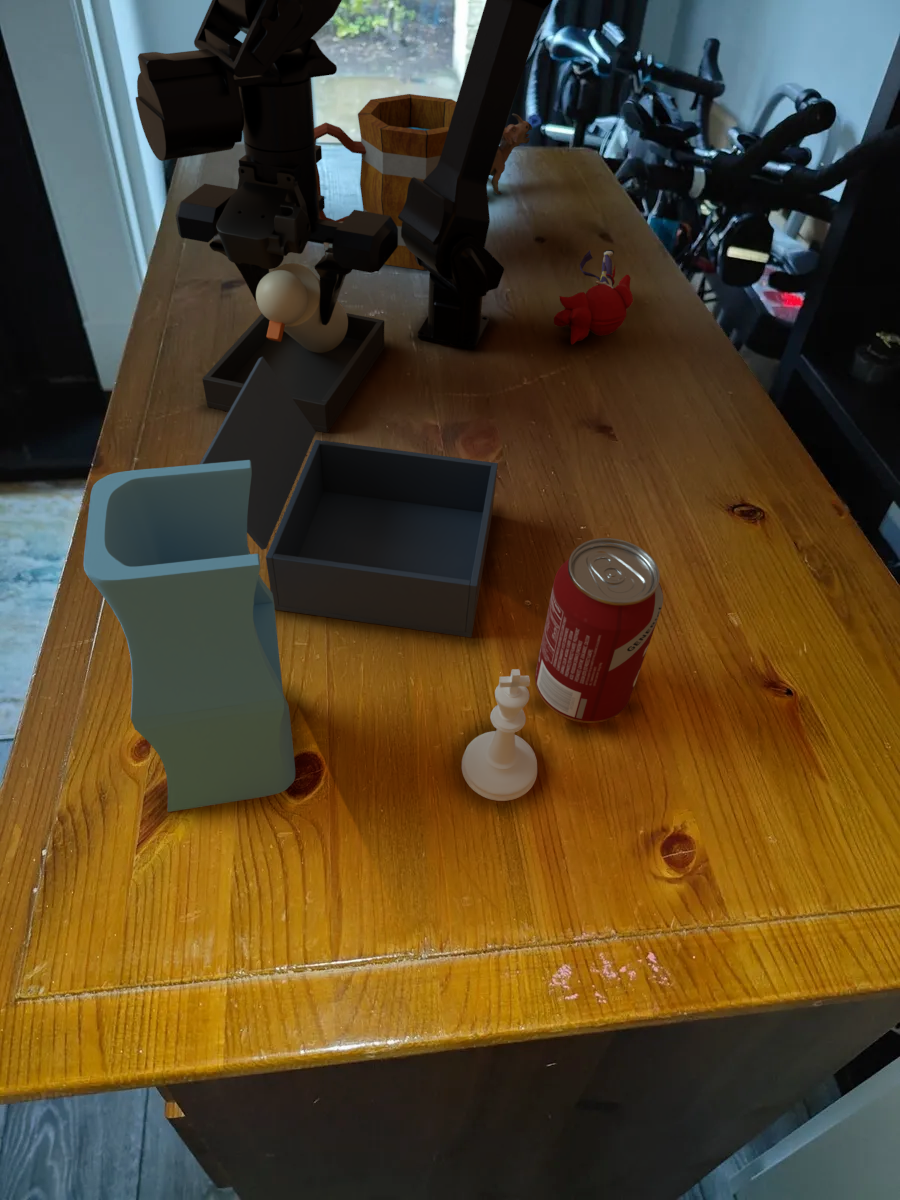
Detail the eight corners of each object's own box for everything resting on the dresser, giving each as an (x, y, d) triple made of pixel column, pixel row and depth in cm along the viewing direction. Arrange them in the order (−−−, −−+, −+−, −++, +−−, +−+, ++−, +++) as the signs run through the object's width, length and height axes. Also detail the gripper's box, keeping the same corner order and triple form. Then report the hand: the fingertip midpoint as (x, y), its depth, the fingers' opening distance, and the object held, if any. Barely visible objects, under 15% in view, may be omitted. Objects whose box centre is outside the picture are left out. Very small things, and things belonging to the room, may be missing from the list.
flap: (199, 469, 54) (194, 471, 54) (266, 548, 59) (261, 550, 59) (262, 356, 64) (258, 358, 64) (316, 432, 68) (312, 433, 68)
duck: (300, 291, 87) (251, 240, 74) (353, 301, 86) (312, 252, 73) (284, 363, 87) (232, 325, 74) (337, 374, 86) (293, 337, 74)
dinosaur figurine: (494, 172, 123) (500, 102, 117) (526, 184, 121) (534, 113, 114) (432, 198, 116) (434, 124, 109) (464, 211, 114) (469, 137, 107)
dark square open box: (471, 637, 62) (477, 586, 58) (273, 609, 63) (265, 557, 59) (492, 514, 72) (498, 462, 68) (319, 491, 73) (315, 439, 69)
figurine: (637, 288, 99) (632, 355, 89) (565, 293, 101) (553, 359, 91) (636, 234, 95) (631, 298, 85) (561, 240, 97) (548, 304, 87)
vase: (297, 791, 53) (261, 565, 38) (167, 812, 51) (78, 585, 37) (287, 691, 58) (252, 458, 43) (168, 708, 57) (91, 472, 42)
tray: (277, 325, 91) (274, 298, 89) (384, 347, 89) (384, 320, 87) (207, 406, 80) (201, 378, 78) (327, 433, 78) (325, 405, 76)
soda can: (567, 743, 56) (599, 624, 48) (515, 670, 60) (537, 549, 51) (648, 707, 59) (693, 588, 50) (593, 640, 63) (626, 519, 54)
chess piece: (458, 737, 56) (468, 640, 49) (531, 734, 57) (551, 637, 49) (465, 803, 53) (477, 709, 46) (542, 799, 53) (566, 706, 46)
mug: (458, 220, 111) (465, 93, 100) (478, 268, 102) (489, 134, 92) (308, 224, 108) (298, 94, 97) (316, 274, 99) (306, 136, 88)
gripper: (123, 155, 65) (163, 340, 76) (352, 194, 62) (358, 380, 73) (193, 111, 72) (220, 285, 84) (400, 144, 69) (399, 320, 81)
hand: (295, 317), depth 80 cm, fingers closed on duck, 6 cm apart
